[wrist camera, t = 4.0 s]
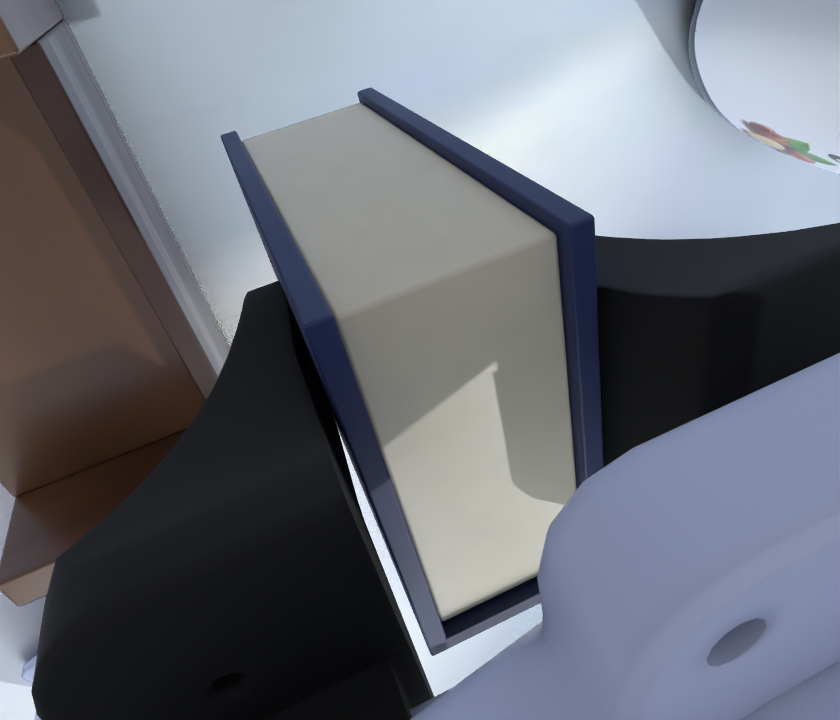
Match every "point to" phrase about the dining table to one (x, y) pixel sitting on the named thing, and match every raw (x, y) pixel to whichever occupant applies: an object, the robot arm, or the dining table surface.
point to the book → (438, 342)
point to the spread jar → (773, 72)
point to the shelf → (82, 305)
